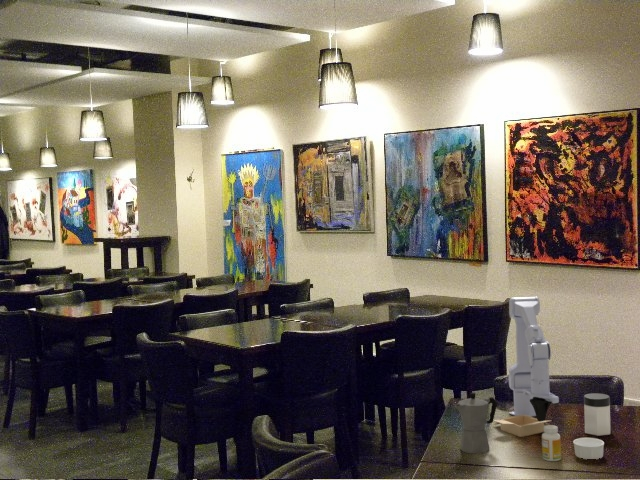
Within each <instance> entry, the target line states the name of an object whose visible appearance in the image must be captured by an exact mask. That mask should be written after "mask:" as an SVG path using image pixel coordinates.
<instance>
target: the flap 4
mask: <svg viewBox="0 0 640 480" xmlns="http://www.w3.org/2000/svg"><path fill="white" fill-rule="evenodd" d="M552 421H553V420H552V419H551V420H545V421H541V422H535V423H530V424H525V425H523V426H526V425H535V424H540V423H545V422H546V423H548V422H549V423H550V422H552Z"/></svg>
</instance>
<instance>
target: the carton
mask: <svg viewBox="0 0 640 480" xmlns="http://www.w3.org/2000/svg"><path fill="white" fill-rule="evenodd" d="M511 417H512V418H508V417H506V418H507V419H503V418H501V419H502V420H505V421H508V422H511V423H514V424H515V425H511V424H500V431H503V432H505V433H508V434H511V435H514V436H517V437H519V438H522V437H527V436H531V435H537V434H541V433H542V434H543V433H545V432H544V426H545V425H544V423H540V424H535V425H526V426H523V425H525V424H530V423H535V422H540V421H538V420H537V419H534V418H535V417H533V418H531V417H528V416H525V415H522V416H517V417H513V416H511Z"/></svg>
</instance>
